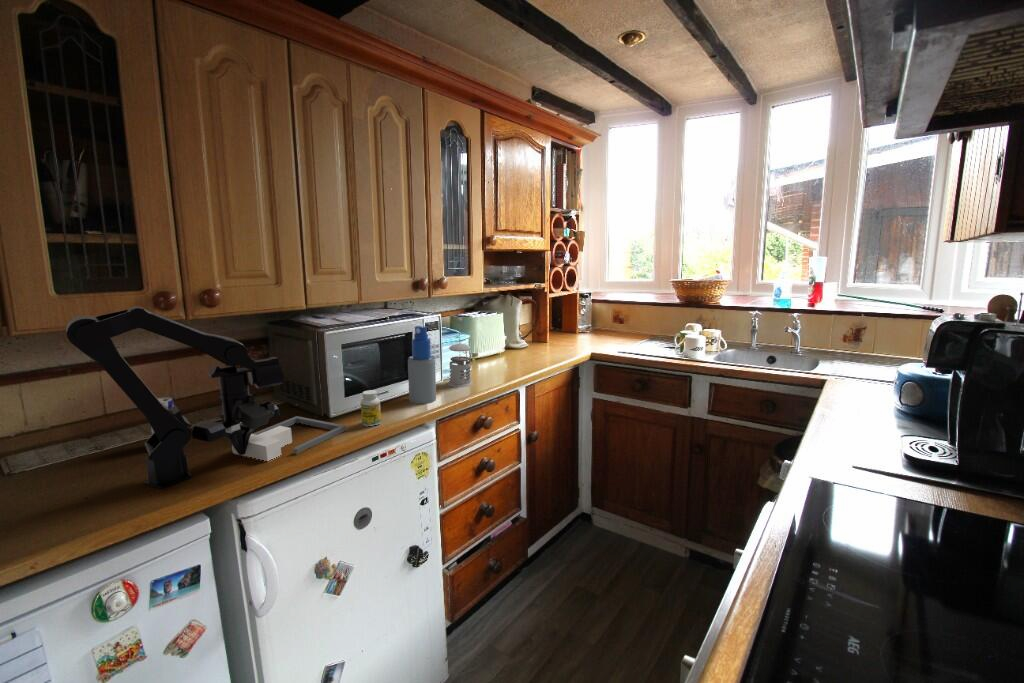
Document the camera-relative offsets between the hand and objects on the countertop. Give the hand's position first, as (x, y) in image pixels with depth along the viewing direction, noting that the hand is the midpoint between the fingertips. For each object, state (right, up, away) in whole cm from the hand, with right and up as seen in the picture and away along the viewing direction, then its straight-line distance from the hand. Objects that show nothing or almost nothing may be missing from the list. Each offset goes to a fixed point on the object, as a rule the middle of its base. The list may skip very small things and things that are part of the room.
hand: (242, 454), depth 116 cm
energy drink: (-25, 0, +9) cm, 26 cm away
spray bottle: (+35, +7, +47) cm, 59 cm away
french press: (+46, +11, +67) cm, 82 cm away
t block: (+3, 0, +7) cm, 8 cm away
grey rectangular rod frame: (+6, +1, +15) cm, 17 cm away
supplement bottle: (+24, +3, +25) cm, 35 cm away
